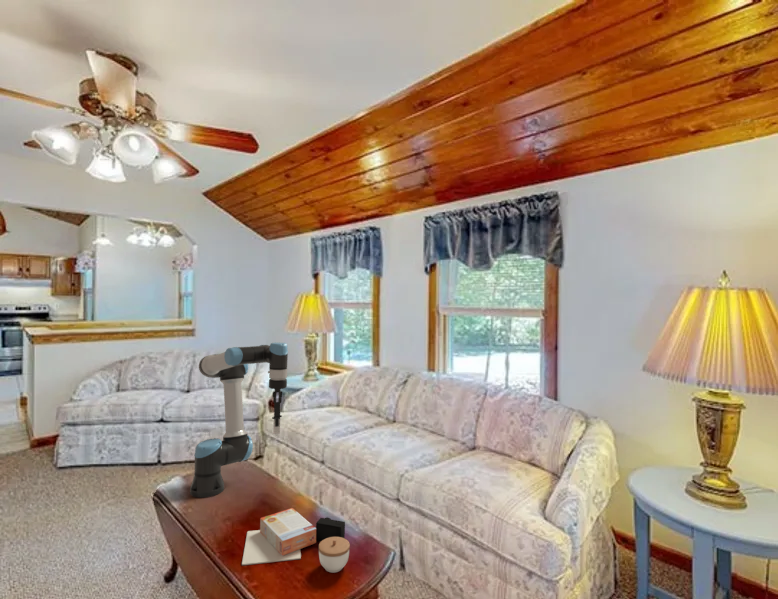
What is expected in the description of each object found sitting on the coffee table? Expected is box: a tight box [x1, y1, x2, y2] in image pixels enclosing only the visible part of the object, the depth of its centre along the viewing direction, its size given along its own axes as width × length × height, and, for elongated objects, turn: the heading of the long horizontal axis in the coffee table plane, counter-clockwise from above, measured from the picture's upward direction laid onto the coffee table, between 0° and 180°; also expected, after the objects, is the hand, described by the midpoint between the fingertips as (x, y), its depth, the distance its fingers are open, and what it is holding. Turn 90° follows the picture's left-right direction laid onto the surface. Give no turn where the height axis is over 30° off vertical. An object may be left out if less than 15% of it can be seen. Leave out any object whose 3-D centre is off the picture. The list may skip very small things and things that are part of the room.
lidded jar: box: [318, 537, 351, 574], centre depth 150 cm, size 11×11×9 cm
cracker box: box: [259, 507, 317, 556], centre depth 167 cm, size 14×6×21 cm
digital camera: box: [315, 516, 346, 543], centre depth 167 cm, size 10×5×7 cm, turn 75°
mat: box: [241, 529, 302, 566], centre depth 163 cm, size 22×20×1 cm
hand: (276, 433), depth 187 cm, fingers closed
